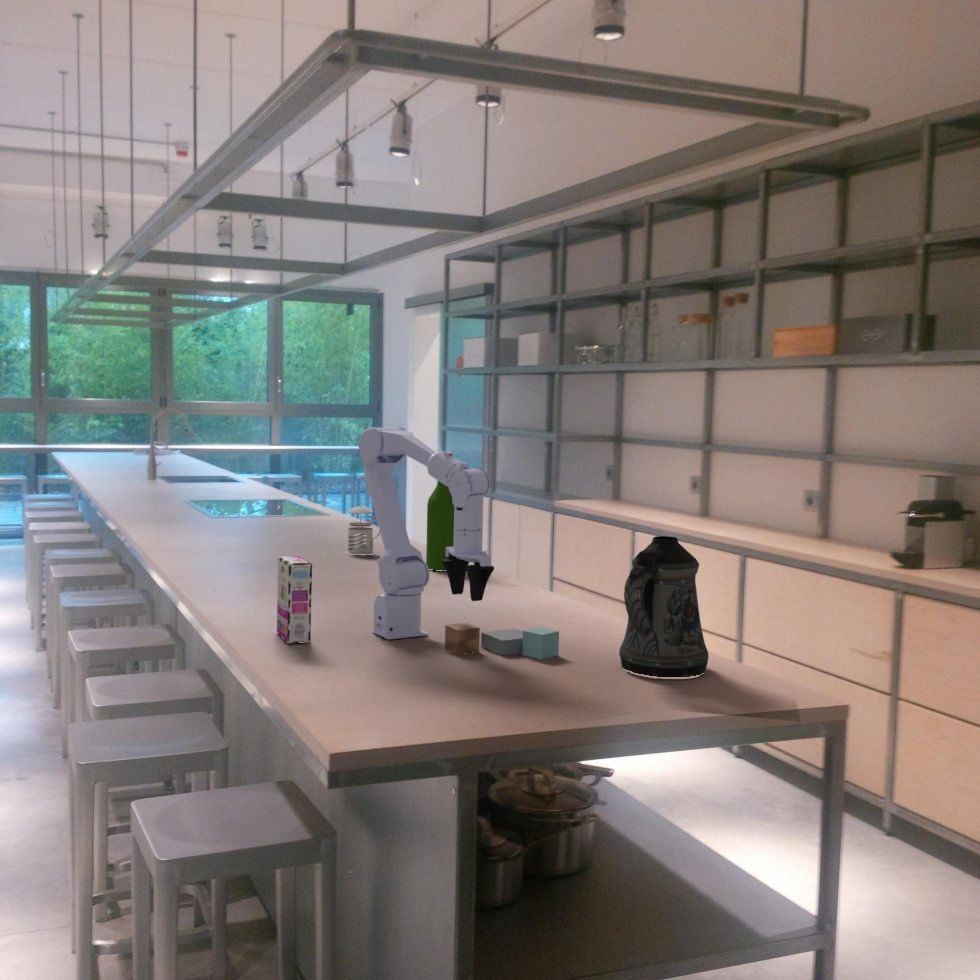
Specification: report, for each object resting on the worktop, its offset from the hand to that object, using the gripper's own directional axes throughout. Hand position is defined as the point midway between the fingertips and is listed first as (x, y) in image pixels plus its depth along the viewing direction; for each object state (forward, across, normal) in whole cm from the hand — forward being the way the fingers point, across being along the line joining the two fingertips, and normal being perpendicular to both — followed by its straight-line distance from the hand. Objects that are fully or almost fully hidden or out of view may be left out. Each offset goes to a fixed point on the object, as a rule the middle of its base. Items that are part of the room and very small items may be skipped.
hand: (466, 597), depth 207 cm
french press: (+10, +125, -35) cm, 130 cm away
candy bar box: (+11, +23, +27) cm, 37 cm away
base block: (+10, -4, -8) cm, 13 cm away
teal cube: (+11, -11, -10) cm, 19 cm away
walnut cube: (+10, -1, +2) cm, 11 cm away
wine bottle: (+10, +88, -44) cm, 99 cm away
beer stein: (+11, -31, -24) cm, 41 cm away
